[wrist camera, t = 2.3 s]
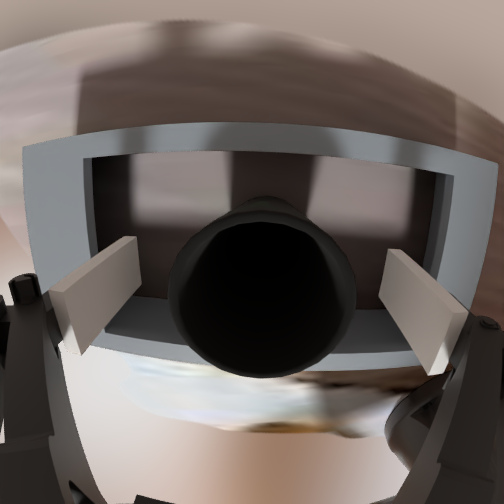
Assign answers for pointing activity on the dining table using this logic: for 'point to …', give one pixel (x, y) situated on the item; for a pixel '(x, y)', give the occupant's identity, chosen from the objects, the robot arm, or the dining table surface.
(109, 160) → the dining table surface
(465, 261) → the slot box
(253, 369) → the cup
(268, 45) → the dining table surface
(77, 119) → the dining table surface
